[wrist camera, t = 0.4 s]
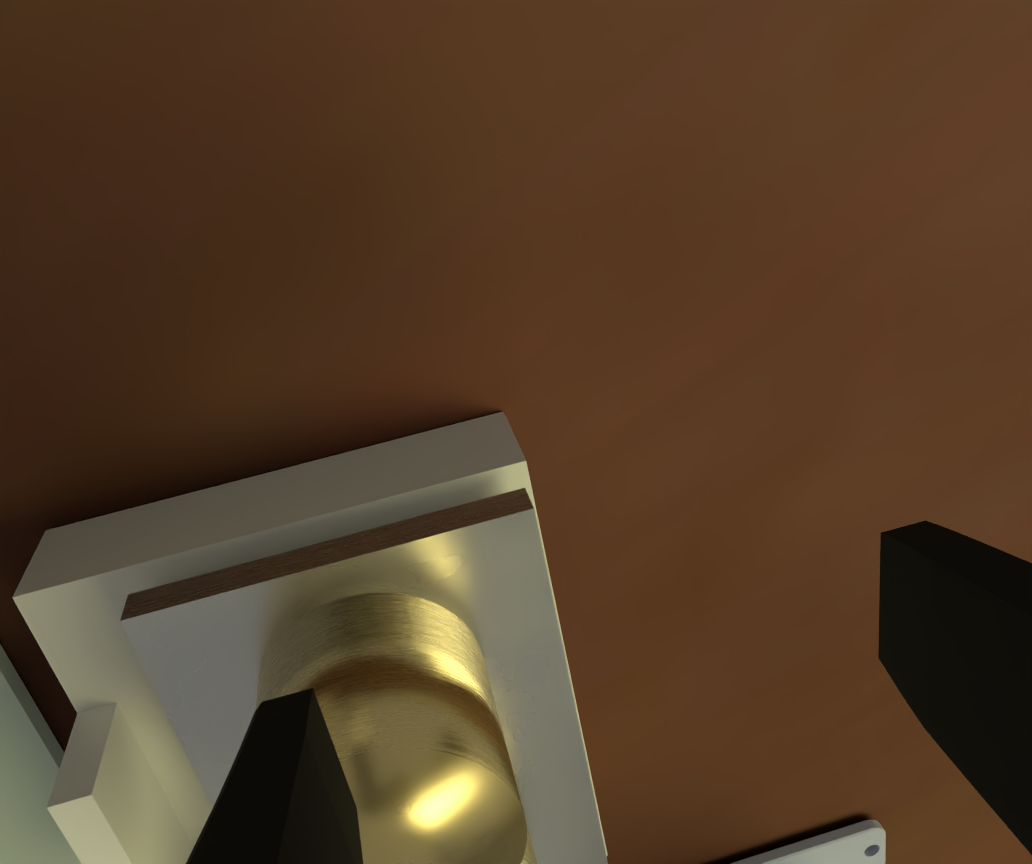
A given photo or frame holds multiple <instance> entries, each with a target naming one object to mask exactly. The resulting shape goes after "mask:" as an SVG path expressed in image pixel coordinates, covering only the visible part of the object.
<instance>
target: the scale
mask: <svg viewBox="0 0 1032 864" xmlns="http://www.w3.org/2000/svg"><path fill="white" fill-rule="evenodd" d="M521 488H525V489H526V491H527V493H528V496H529V498H530V500H531V503H532V505H533V507H534V511H535V516H536V520H537V525H538V530H539V535H540V540H541V544H542V549H543V554H544V559H545V564H546V568H547V573H548V578H549V583H550V588H551V593H552V597H553V602H554V607H555V612H556V617H557V621H558V626H559V631H560V636H561V641H562V645H563V650H564V655H565V660H566V665H567V669H568V674H569V679H570V684H571V689H572V693H573V698H574V703H575V708H576V713H577V717H578V722H579V727H580V732H581V737H582V742H583V746H584V751H585V756H586V761H587V766H588V770H589V775H590V780H591V785H592V790H593V794H594V799H595V804H596V809H597V814H598V818H599V823H600V828H601V833H602V838H603V842H604V847H605V852H606V856H607V850H606V845H605V840H604V835H603V830H602V826H601V821H600V816H599V811H598V806H597V801H596V797H595V792H594V787H593V782H592V777H591V772H590V768H589V763H588V758H587V753H586V748H585V743H584V739H583V734H582V729H581V724H580V719H579V714H578V710H577V705H576V700H575V695H574V690H573V685H572V681H571V676H570V671H569V666H568V661H567V656H566V652H565V647H564V642H563V637H562V632H561V627H560V623H559V618H558V613H557V608H556V603H555V598H554V594H553V589H552V584H551V579H550V574H549V569H548V565H547V560H546V555H545V550H544V545H543V540H542V536H541V531H540V526H539V521H538V516H537V511H536V507H535V502H534V497H533V492H532V487H531V482H530V478H529V473H528V468H527V463H526V460H525V457H524V455H523V453H522V451H521V449H520V447H519V445H518V442H517V440H516V438H515V436H514V434H513V432H512V429H511V427H510V425H509V423H508V421H507V419H506V416H505V414H504V412H499V413H495V414H491V415H487V416H484V417H480V418H476V419H472V420H468V421H464V422H461V423H457V424H453V425H449V426H445V427H441V428H437V429H434V430H430V431H426V432H422V433H418V434H414V435H411V436H407V437H403V438H399V439H395V440H391V441H388V442H384V443H380V444H376V445H372V446H368V447H364V448H361V449H357V450H353V451H349V452H345V453H341V454H338V455H334V456H330V457H326V458H322V459H318V460H314V461H311V462H307V463H303V464H299V465H295V466H291V467H288V468H284V469H280V470H276V471H272V472H268V473H265V474H261V475H257V476H253V477H249V478H245V479H241V480H238V481H234V482H230V483H226V484H222V485H218V486H215V487H211V488H207V489H203V490H199V491H195V492H191V493H188V494H184V495H180V496H176V497H172V498H168V499H165V500H161V501H157V502H153V503H149V504H145V505H141V506H138V507H134V508H130V509H126V510H122V511H118V512H115V513H111V514H107V515H103V516H99V517H95V518H92V519H88V520H84V521H80V522H76V523H72V524H68V525H65V526H61V527H57V528H53V529H49V530H46V531H45V533H44V535H43V537H42V539H41V541H40V543H39V545H38V547H37V549H36V551H35V553H34V555H33V557H32V559H31V561H30V563H29V565H28V567H27V569H26V571H25V573H24V575H23V577H22V579H21V581H20V583H19V585H18V587H17V589H16V591H15V593H14V595H13V597H12V598H13V600H14V602H15V604H16V605H17V607H18V609H19V611H20V612H21V614H22V616H23V618H24V620H25V621H26V623H27V625H28V627H29V628H30V630H31V632H32V634H33V636H34V637H35V639H36V641H37V643H38V644H39V646H40V648H41V650H42V652H43V653H44V655H45V657H46V659H47V660H48V662H49V664H50V666H51V668H52V669H53V671H54V673H55V675H56V676H57V678H58V680H59V682H60V684H61V685H62V687H63V689H64V691H65V692H66V694H67V696H68V698H69V700H70V701H71V703H72V705H73V707H74V708H75V710H76V712H77V716H76V719H75V722H74V726H73V729H72V732H71V735H70V738H69V741H68V744H67V747H66V750H65V753H64V756H63V759H62V762H61V765H60V768H59V771H58V774H57V778H56V781H55V784H54V787H53V790H52V793H51V796H50V799H49V802H48V805H47V809H48V811H49V812H50V814H51V816H52V817H53V819H54V820H55V822H56V824H57V825H58V827H59V828H60V830H61V832H62V833H63V835H64V836H65V838H66V840H67V841H68V843H69V844H70V846H71V848H72V849H73V851H74V852H75V854H76V856H77V857H78V859H79V860H80V862H81V864H186V862H187V860H188V858H189V856H190V854H191V852H192V850H193V848H194V846H195V844H196V842H197V839H198V837H199V835H200V833H201V831H202V829H203V827H204V825H205V823H206V821H207V819H208V817H209V815H210V813H211V811H212V809H213V806H212V804H211V802H210V800H209V798H208V796H207V794H206V792H205V790H204V788H203V786H202V784H201V782H200V780H199V778H198V776H197V774H196V772H195V770H194V768H193V766H192V764H191V762H190V760H189V758H188V756H187V754H186V752H185V750H184V748H183V746H182V744H181V742H180V740H179V738H178V736H177V734H176V732H175V730H174V728H173V726H172V724H171V722H170V720H169V718H168V716H167V714H166V712H165V710H164V708H163V706H162V704H161V702H160V700H159V698H158V696H157V694H156V692H155V690H154V688H153V686H152V684H151V682H150V680H149V678H148V676H147V674H146V672H145V670H144V668H143V666H142V664H141V662H140V660H139V658H138V656H137V654H136V652H135V650H134V648H133V646H132V644H131V642H130V640H129V638H128V636H127V634H126V632H125V630H124V628H123V626H122V624H121V622H120V619H121V616H122V613H123V609H124V606H125V603H126V600H127V596H128V594H131V593H135V592H139V591H142V590H146V589H150V588H154V587H157V586H161V585H165V584H168V583H172V582H176V581H180V580H183V579H187V578H191V577H194V576H198V575H202V574H206V573H209V572H213V571H217V570H220V569H224V568H228V567H232V566H235V565H239V564H243V563H246V562H250V561H254V560H258V559H261V558H265V557H269V556H272V555H276V554H280V553H284V552H287V551H291V550H295V549H298V548H302V547H306V546H309V545H313V544H317V543H321V542H324V541H328V540H332V539H335V538H339V537H343V536H347V535H350V534H354V533H358V532H361V531H365V530H369V529H373V528H376V527H380V526H384V525H387V524H391V523H395V522H399V521H402V520H406V519H410V518H413V517H417V516H421V515H425V514H428V513H432V512H436V511H439V510H443V509H447V508H451V507H454V506H458V505H462V504H465V503H469V502H473V501H477V500H480V499H484V498H488V497H491V496H495V495H499V494H503V493H506V492H510V491H514V490H517V489H521Z"/></svg>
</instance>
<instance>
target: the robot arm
mask: <svg viewBox="0 0 1032 864" xmlns="http://www.w3.org/2000/svg"><path fill="white" fill-rule="evenodd" d="M879 659H880V661H881V662H882V664H883V665H884V667H885V669H886V670H887V672H888V673H889V675H890V677H891V678H892V680H893V681H894V683H895V685H896V686H897V688H898V689H899V691H900V693H901V694H902V696H903V697H904V699H905V700H906V702H907V703H908V705H909V706H910V708H911V709H912V711H913V712H914V713H915V715H916V716H917V718H918V719H919V721H920V722H921V724H922V725H923V727H924V728H925V729H926V730H927V732H928V733H929V734H930V735H931V737H932V738H933V739H934V740H935V741H936V743H937V744H938V745H939V746H940V747H941V749H942V750H943V751H944V752H945V753H946V755H947V756H948V757H949V758H950V759H951V761H952V762H953V763H954V764H955V765H956V767H957V768H958V769H959V770H960V771H961V773H962V774H963V775H964V776H965V777H966V778H967V780H968V781H969V782H970V783H971V784H972V786H973V787H974V788H975V789H976V790H977V791H978V793H979V794H980V795H981V796H982V797H983V798H984V800H985V801H986V802H987V803H988V804H989V805H990V807H991V808H992V809H993V810H994V811H995V812H996V814H997V815H998V816H999V817H1000V818H1001V819H1002V821H1003V822H1004V823H1005V824H1006V825H1007V827H1008V828H1009V829H1010V830H1011V831H1012V832H1013V834H1014V835H1015V836H1016V837H1017V838H1018V839H1019V841H1020V842H1021V843H1022V844H1023V845H1024V846H1025V848H1026V849H1027V850H1028V851H1029V852H1030V853H1031V855H1032V563H1030V562H1027V561H1025V560H1022V559H1020V558H1018V557H1015V556H1013V555H1011V554H1008V553H1006V552H1004V551H1001V550H999V549H996V548H994V547H992V546H989V545H987V544H984V543H982V542H980V541H977V540H975V539H972V538H970V537H967V536H965V535H963V534H960V533H958V532H955V531H952V530H950V529H947V528H945V527H942V526H939V525H937V524H934V523H931V522H928V521H922V522H919V523H915V524H911V525H908V526H904V527H900V528H897V529H893V530H889V531H886V532H882V533H881V549H880V605H879ZM885 850H886V834H885V830H884V829H883V828H882V826H881V825H880V823H879V822H878V821H876V820H865V821H862V822H859V823H855V824H852V825H849V826H846V827H843V828H840V829H837V830H833V831H830V832H827V833H824V834H821V835H818V836H815V837H812V838H808V839H805V840H802V841H799V842H796V843H793V844H790V845H786V846H783V847H780V848H777V849H774V850H771V851H768V852H764V853H761V854H758V855H755V856H752V857H749V858H746V859H743V860H739V861H736V862H733V863H730V864H885ZM186 864H363V856H362V847H361V839H360V830H359V822H358V813H357V807H356V804H355V802H354V799H353V796H352V793H351V791H350V788H349V785H348V782H347V780H346V777H345V774H344V772H343V769H342V766H341V763H340V761H339V758H338V755H337V752H336V750H335V747H334V744H333V742H332V739H331V736H330V733H329V731H328V728H327V725H326V722H325V720H324V717H323V714H322V712H321V709H320V706H319V703H318V701H317V698H316V695H315V692H314V690H313V688H311V689H307V690H303V691H300V692H296V693H292V694H289V695H285V696H281V697H278V698H274V699H270V700H267V701H263V702H261V703H260V705H259V706H258V708H257V709H256V711H255V712H254V715H253V717H252V720H251V722H250V724H249V727H248V729H247V732H246V734H245V736H244V739H243V741H242V744H241V746H240V748H239V751H238V753H237V755H236V758H235V760H234V762H233V765H232V767H231V769H230V771H229V774H228V776H227V778H226V780H225V782H224V785H223V787H222V789H221V791H220V793H219V796H218V798H217V800H216V802H215V804H214V807H213V809H212V811H211V813H210V815H209V817H208V819H207V821H206V823H205V825H204V827H203V829H202V831H201V833H200V835H199V837H198V839H197V842H196V844H195V846H194V848H193V850H192V852H191V854H190V856H189V858H188V860H187V862H186Z"/></svg>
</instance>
